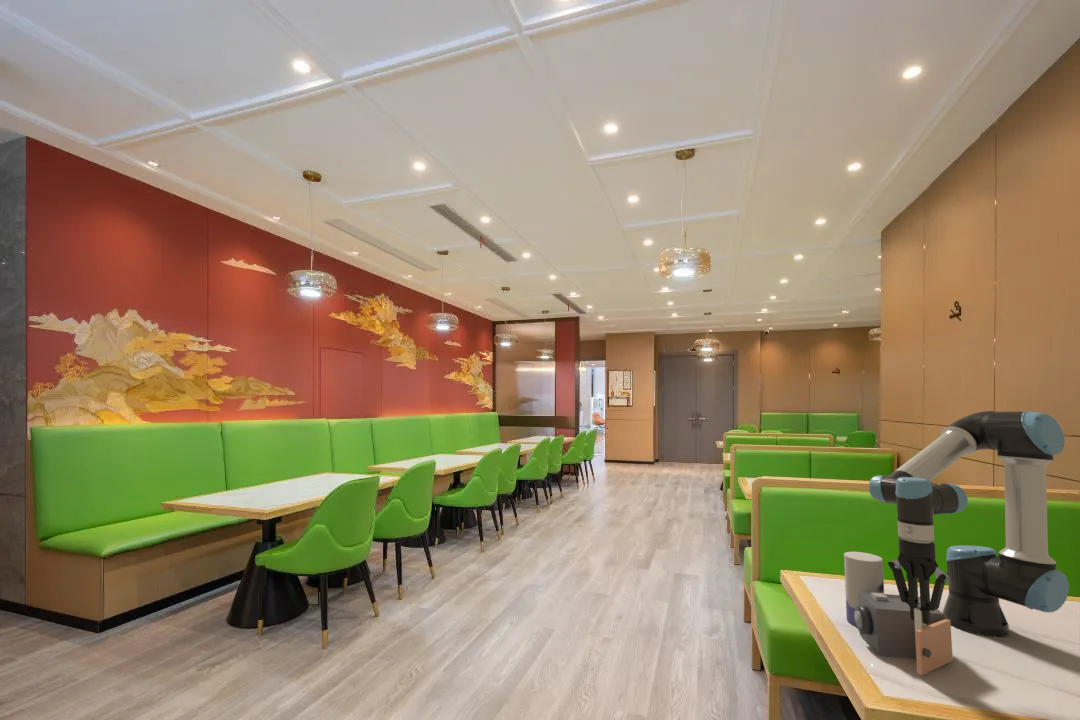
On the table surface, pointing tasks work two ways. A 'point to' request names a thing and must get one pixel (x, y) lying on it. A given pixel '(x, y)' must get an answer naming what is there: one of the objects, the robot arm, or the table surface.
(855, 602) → the container
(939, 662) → the side door
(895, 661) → the table surface
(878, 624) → the dark gray knobbed box
